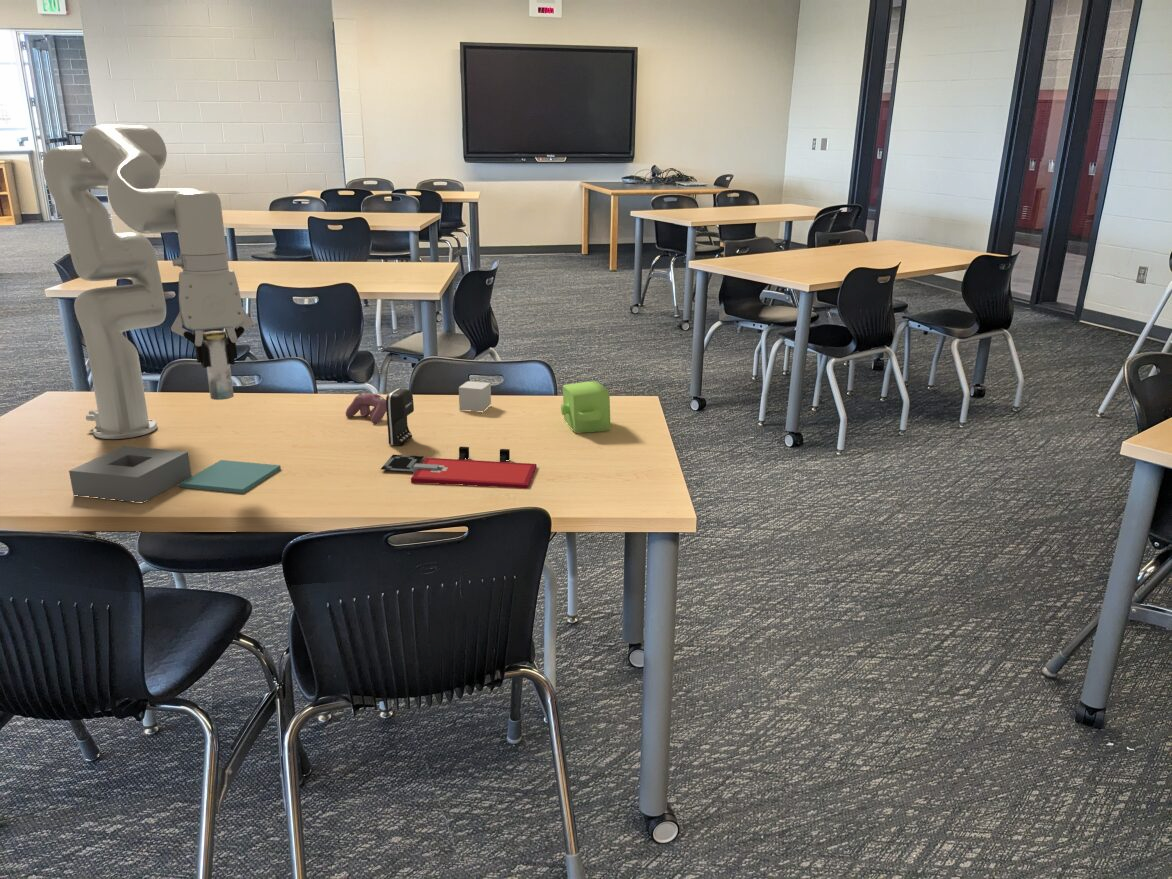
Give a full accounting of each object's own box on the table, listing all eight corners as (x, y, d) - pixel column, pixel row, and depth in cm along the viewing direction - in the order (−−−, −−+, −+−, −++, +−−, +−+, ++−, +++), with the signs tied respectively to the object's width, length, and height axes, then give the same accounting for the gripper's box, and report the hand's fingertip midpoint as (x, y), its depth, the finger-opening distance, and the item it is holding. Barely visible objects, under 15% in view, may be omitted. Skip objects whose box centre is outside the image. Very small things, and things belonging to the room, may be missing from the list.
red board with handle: (395, 455, 180) (372, 482, 166) (395, 442, 179) (371, 469, 165) (539, 463, 178) (527, 492, 164) (539, 450, 177) (528, 478, 163)
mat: (180, 487, 162) (179, 483, 162) (221, 463, 174) (221, 459, 174) (243, 493, 159) (242, 489, 159) (280, 469, 171) (280, 465, 171)
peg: (213, 400, 159) (204, 336, 155) (208, 395, 162) (200, 332, 158) (235, 397, 161) (228, 333, 157) (231, 392, 164) (223, 330, 160)
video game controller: (386, 427, 203) (394, 398, 203) (373, 423, 199) (381, 394, 199) (356, 420, 208) (364, 392, 208) (342, 416, 204) (350, 387, 204)
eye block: (73, 496, 157) (68, 470, 155) (127, 469, 170) (123, 445, 168) (142, 503, 154) (137, 477, 153) (191, 476, 167) (188, 451, 166)
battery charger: (404, 447, 185) (401, 395, 181) (387, 446, 185) (384, 394, 182) (417, 437, 191) (414, 387, 187) (401, 436, 192) (398, 386, 188)
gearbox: (553, 417, 208) (551, 379, 205) (592, 413, 211) (591, 375, 208) (571, 439, 192) (569, 398, 189) (614, 434, 194) (613, 393, 191)
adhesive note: (468, 404, 216) (467, 381, 215) (491, 406, 215) (490, 383, 213) (459, 411, 211) (458, 387, 209) (482, 413, 210) (482, 389, 208)
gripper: (156, 269, 146) (172, 374, 152) (259, 263, 155) (270, 363, 161) (150, 264, 152) (165, 366, 158) (249, 258, 161) (260, 355, 167)
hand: (217, 363), depth 159 cm, fingers closed on peg, 4 cm apart
